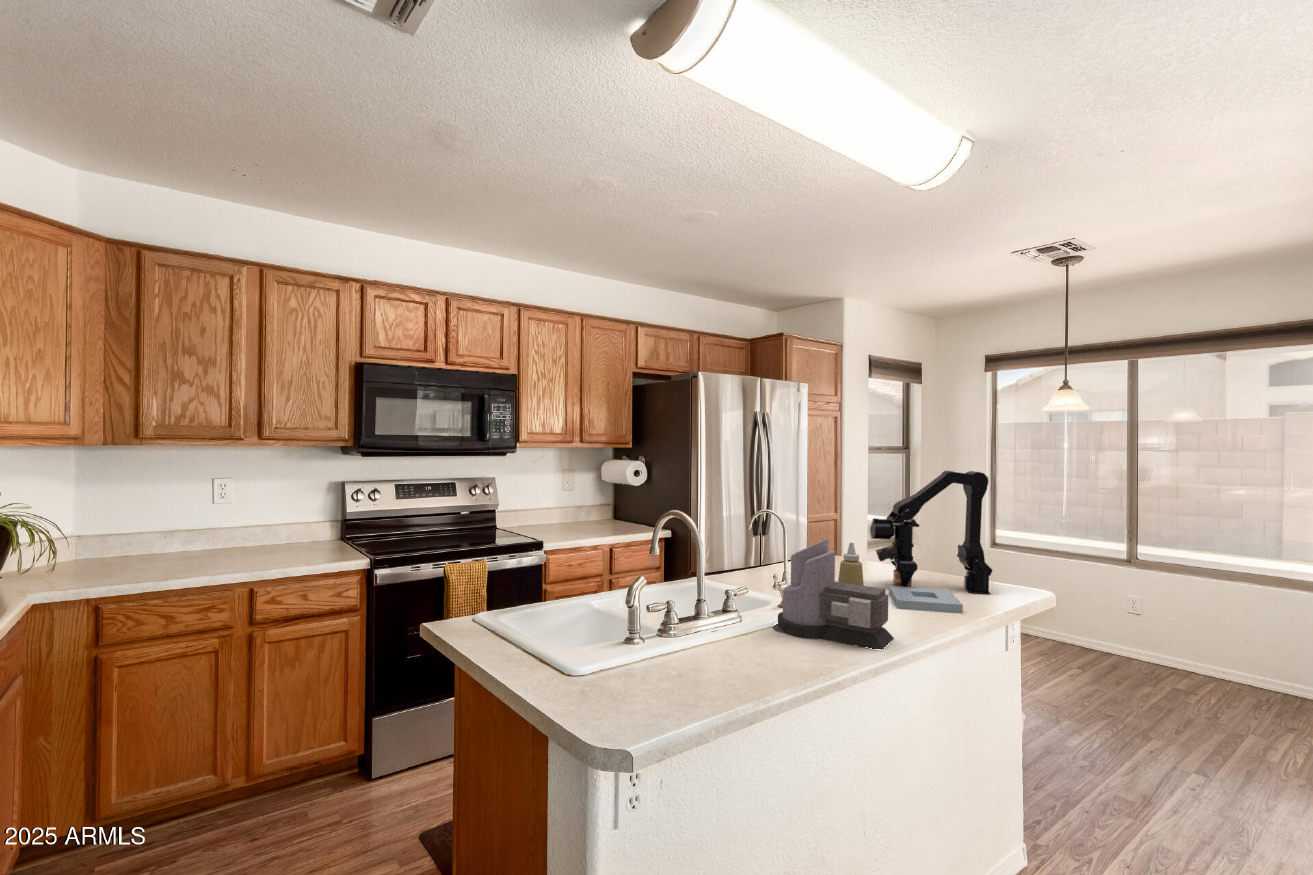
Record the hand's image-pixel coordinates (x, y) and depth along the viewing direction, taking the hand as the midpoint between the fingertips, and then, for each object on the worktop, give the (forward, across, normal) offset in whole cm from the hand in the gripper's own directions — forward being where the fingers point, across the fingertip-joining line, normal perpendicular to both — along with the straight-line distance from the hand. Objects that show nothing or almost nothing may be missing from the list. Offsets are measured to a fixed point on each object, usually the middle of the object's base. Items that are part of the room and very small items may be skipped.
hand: (902, 586), depth 214 cm
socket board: (+1, +16, +4) cm, 17 cm away
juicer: (+1, +54, -26) cm, 60 cm away
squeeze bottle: (+1, +20, -18) cm, 27 cm away
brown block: (+1, 0, 0) cm, 1 cm away
